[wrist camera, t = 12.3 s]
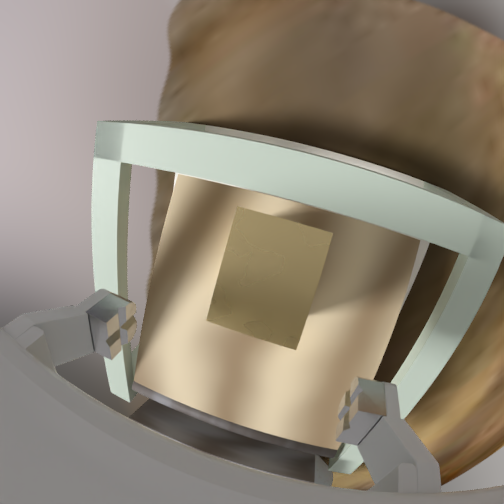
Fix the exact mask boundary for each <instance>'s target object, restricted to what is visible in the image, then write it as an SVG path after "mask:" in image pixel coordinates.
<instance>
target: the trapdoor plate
mask: <svg viewBox="0 0 504 504" xmlns="http://www.w3.org/2000/svg"><path fill="white" fill-rule="evenodd" d="M237 206H239V207H242V208H246V209H250V210H254V211H257V212H261V213H265V214H268V215H272V216H276V217H279V218H283V219H286V220H290V221H293V222H297V223H300V224H304V225H307V226H311V227H314V228H318V229H321V230H324V231H328V232H331V233H333V235H332V239H331V243H330V246H329V250H328V253H327V256H326V260H325V263H324V267H323V270H322V273H321V276H320V280H319V283H318V286H317V289H316V293H315V296H314V299H313V302H312V305H311V308H310V311H309V314H308V317H307V320H306V323H305V326H304V329H303V332H302V335H301V338H300V341H299V343H298V346H297V349H296V350H293V349H290V348H287V347H284V346H280V345H277V344H274V343H271V342H267V341H264V340H261V339H258V338H255V337H252V336H249V335H246V334H243V333H240V332H237V331H234V330H231V329H228V328H225V327H223V326H220V325H217V324H214V323H211V322H208V321H206V319H207V315H208V311H209V308H210V304H211V300H212V296H213V292H214V289H215V285H216V281H217V277H218V274H219V270H220V266H221V263H222V259H223V255H224V252H225V248H226V245H227V241H228V237H229V234H230V230H231V227H232V223H233V220H234V216H235V213H236V209H237ZM419 244H420V240H418V239H415V238H412V237H409V236H407V235H404V234H400V233H397V232H394V231H391V230H388V229H385V228H382V227H379V226H376V225H373V224H369V223H366V222H363V221H360V220H356V219H353V218H350V217H346V216H343V215H340V214H336V213H333V212H329V211H326V210H322V209H319V208H315V207H312V206H308V205H304V204H301V203H297V202H293V201H290V200H286V199H282V198H278V197H274V196H271V195H267V194H263V193H259V192H255V191H251V190H247V189H242V188H238V187H234V186H230V185H226V184H221V183H217V182H213V181H208V180H204V179H199V178H195V177H190V176H185V175H180V174H178V177H177V180H176V184H175V187H174V190H173V194H172V198H171V201H170V205H169V208H168V212H167V216H166V220H165V224H164V227H163V231H162V235H161V239H160V244H159V248H158V252H157V256H156V261H155V265H154V269H153V274H152V279H151V283H150V288H149V293H148V298H147V303H146V308H145V314H144V319H143V324H142V330H141V336H140V342H139V348H138V355H137V361H136V368H135V376H134V381H133V384H132V390H134V391H136V392H138V393H140V394H142V395H144V396H146V397H148V398H150V399H149V400H147V401H146V402H145V403H144V404H143V405H142V406H141V407H140V408H139V409H138V410H137V411H135V412H134V413H133V414H132V415H131V416H130V417H129V419H131V420H133V421H135V422H137V423H139V424H141V425H143V426H145V427H147V428H149V429H151V430H153V431H155V432H157V433H159V434H161V435H163V436H166V437H168V438H170V439H172V440H174V441H177V442H179V443H181V444H184V445H186V446H189V447H191V448H194V449H196V450H199V451H201V452H204V453H206V454H209V455H212V456H215V457H217V458H220V459H223V460H226V461H229V462H232V463H235V464H238V465H241V466H244V467H248V468H251V469H255V470H258V471H262V472H265V473H269V474H273V475H277V476H281V477H285V478H289V479H294V480H298V481H303V482H308V483H314V481H315V455H319V456H324V457H329V458H334V457H335V455H336V453H337V450H338V448H339V447H340V445H341V443H342V442H337V441H335V437H336V427H337V425H338V423H339V422H340V419H339V418H338V409H339V405H340V402H341V400H342V397H343V396H344V394H345V392H347V391H349V390H350V388H351V382H352V381H353V379H354V378H355V377H356V376H358V377H362V378H367V379H371V380H373V379H374V377H375V374H376V372H377V370H378V367H379V365H380V363H381V360H382V358H383V355H384V353H385V350H386V348H387V345H388V343H389V340H390V337H391V335H392V332H393V329H394V327H395V324H396V321H397V318H398V315H399V312H400V309H401V306H402V303H403V300H404V297H405V294H406V291H407V288H408V284H409V281H410V277H411V274H412V270H413V267H414V263H415V259H416V256H417V252H418V248H419Z"/></svg>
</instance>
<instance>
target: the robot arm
mask: <svg viewBox="0 0 504 504" xmlns="http://www.w3.org/2000/svg"><path fill="white" fill-rule="evenodd" d="M135 313H136V304H134V303H133V302H132V301H130V300H127V299H125V298H123V297H121V296H119V295H117V294H115V293H112V292H110V291H108V290H106V289H99V290H98V291H96V292H95V293H94V294H92V295H91V296H89V297H88V298H87V299H85V300H84V301H83V302H81V303H80V304H78V305H77V306H76V307H75V306H73V305H72V306H66V307H61V308H55V309H49V310H43V311H38V312H31V313H25V314H22V315H20V316H19V317H17V318H16V319H14V320H13V321H12V322H10V323H9V324H7V325H6V326H5V327H3V328H1V327H0V504H504V485H502V486H497V487H491V488H484V489H476V490H468V491H457V492H442V493H441V481H440V471H439V464H438V462H437V461H436V460H435V458H434V457H433V456H432V454H431V453H430V452H429V451H428V449H427V448H426V447H425V445H424V444H423V443H422V442H421V440H420V439H419V438H418V436H417V435H416V434H415V432H414V431H413V430H412V429H411V427H410V426H409V425H408V424H407V422H406V421H405V420H404V419H401V416H400V407H399V399H398V391H397V386H396V384H393V383H387V382H381V381H376V380H371V379H367V378H362V377H358V376H356V377H355V378H354V379H353V381H352V382H351V388H350V390H349V391H347V392H345V394H344V396H343V397H342V400H341V402H340V405H339V409H338V418H339V419H340V422H339V423H338V425H337V427H336V437H335V441H337V442H342V443H346V444H351V445H356V446H357V448H358V450H359V452H360V454H361V456H362V458H363V460H364V462H365V464H366V466H367V469H368V471H369V473H370V475H371V477H372V479H373V481H374V483H375V485H374V486H373V487H371V488H370V489H369V490H367V491H362V490H353V489H345V488H338V487H331V486H325V485H319V484H314V483H308V482H303V481H298V480H294V479H289V478H285V477H281V476H277V475H273V474H269V473H265V472H262V471H258V470H255V469H251V468H248V467H244V466H241V465H238V464H235V463H232V462H229V461H226V460H223V459H220V458H217V457H215V456H212V455H209V454H206V453H204V452H201V451H199V450H196V449H194V448H191V447H189V446H186V445H184V444H181V443H179V442H177V441H174V440H172V439H170V438H168V437H166V436H163V435H161V434H159V433H157V432H155V431H153V430H151V429H149V428H147V427H145V426H143V425H141V424H139V423H137V422H135V421H133V420H131V419H129V418H127V417H125V416H124V415H122V414H120V413H118V412H116V411H115V410H113V409H111V408H109V407H108V406H106V405H104V404H103V403H101V402H99V401H97V400H96V399H94V398H93V397H91V396H89V395H88V394H86V393H85V392H83V391H82V390H80V389H79V388H77V387H76V386H74V385H73V384H71V383H70V382H68V381H67V380H65V379H64V378H63V377H61V376H60V375H58V374H57V372H56V369H55V366H57V365H61V364H63V363H66V362H69V361H72V360H74V359H77V358H80V357H83V356H86V355H88V354H91V353H93V352H94V351H95V352H97V353H99V354H101V355H102V356H104V357H106V358H108V359H110V360H113V358H114V357H115V356H116V355H117V354H118V353H119V352H120V351H121V350H122V345H124V344H128V343H129V342H130V341H131V340H132V338H133V336H134V334H135V332H136V328H137V322H136V320H135V318H134V316H133V315H134V314H135Z"/></svg>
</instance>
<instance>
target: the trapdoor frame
mask: <svg viewBox="0 0 504 504" xmlns="http://www.w3.org/2000/svg"><path fill="white" fill-rule="evenodd" d="M132 164H135V165H141V166H145V167H151V168H156V169H161V170H166V171H171V172H176V173H175V181H174V187H175V184H176V180H177V177H178V174H180V175H185V176H190V177H195V178H199V179H204V180H208V181H213V182H217V183H221V184H226V185H230V186H234V187H238V188H242V189H247V190H251V191H255V192H259V193H263V194H267V195H271V196H274V197H278V198H282V199H286V200H290V201H293V202H297V203H301V204H304V205H308V206H312V207H315V208H319V209H322V210H326V211H329V212H333V213H336V214H340V215H343V216H346V217H350V218H353V219H356V220H360V221H363V222H366V223H369V224H373V225H376V226H379V227H382V228H385V229H388V230H391V231H394V232H397V233H400V234H404V235H407V236H409V237H412V238H415V239H418V240H420V244H419V248H418V252H417V256H416V259H415V263H414V267H413V270H412V274H411V277H410V281H409V284H408V288H407V291H406V294H405V297H404V300H403V303H402V306H401V309H402V307H403V305H404V303H405V300H406V298H407V296H408V294H409V292H410V290H411V287H412V285H413V283H414V280H415V278H416V276H417V273H418V271H419V269H420V266H421V264H422V261H423V259H424V256H425V254H426V251H427V249H428V246H429V243H433V244H436V245H439V246H442V247H444V248H447V249H450V250H453V251H455V252H458V253H459V255H458V258H457V260H456V263H455V265H454V267H453V270H452V272H451V274H450V276H449V279H448V281H447V283H446V285H445V287H444V290H443V292H442V294H441V296H440V298H439V300H438V302H437V304H436V306H435V308H434V310H433V312H432V314H431V316H430V318H429V320H428V321H427V323H426V325H425V327H424V329H423V331H422V332H421V334H420V336H419V338H418V339H417V341H416V343H415V345H414V346H413V348H412V350H411V351H410V353H409V355H408V356H407V358H406V360H405V361H404V363H403V364H402V366H401V368H400V369H399V371H398V372H397V374H396V375H395V377H394V378H393V380H392V381H391V383H393V384H396V386H397V391H398V399H399V407H400V416H401V419H404V418H405V417H406V416H407V415H408V414H409V412H410V411H411V410H412V409H413V407H414V406H415V405H416V404H417V403H418V401H419V400H420V399H421V397H422V396H423V395H424V394H425V392H426V391H427V390H428V388H429V387H430V386H431V384H432V383H433V381H434V380H435V379H436V377H437V376H438V374H439V373H440V372H441V370H442V369H443V367H444V366H445V364H446V363H447V361H448V360H449V358H450V357H451V355H452V354H453V352H454V351H455V349H456V347H457V346H458V344H459V343H460V341H461V339H462V338H463V336H464V334H465V333H466V331H467V329H468V327H469V326H470V324H471V322H472V320H473V319H474V317H475V315H476V313H477V311H478V309H479V307H480V306H481V304H482V302H483V300H484V298H485V296H486V294H487V292H488V290H489V288H490V285H491V283H492V281H493V279H494V277H495V275H496V272H497V270H498V268H499V265H500V263H501V261H502V258H503V256H504V223H503V222H502V221H500V220H499V219H497V218H495V217H494V216H492V215H490V214H489V213H487V212H485V211H483V210H482V209H480V208H478V207H476V206H475V205H473V204H471V203H469V202H468V201H466V200H464V199H462V198H460V197H458V196H456V195H454V194H453V193H451V192H449V191H447V190H445V189H442V188H440V187H437V186H435V185H432V184H430V183H427V182H425V181H422V180H419V179H417V178H414V177H411V176H408V175H405V174H403V173H400V172H397V171H394V170H391V169H388V168H385V167H382V166H379V165H376V164H373V163H370V162H366V161H363V160H360V159H357V158H353V157H350V156H346V155H343V154H339V153H336V152H332V151H328V150H325V149H321V148H317V147H313V146H309V145H305V144H301V143H297V142H293V141H288V140H284V139H279V138H275V137H270V136H265V135H260V134H255V133H250V132H245V131H239V130H234V129H228V128H222V127H216V126H209V125H202V124H195V123H188V122H171V121H98V122H97V129H96V138H95V149H94V161H93V180H92V254H93V270H94V284H95V292H96V291H98V290H99V289H106V290H108V291H110V292H112V293H115V294H117V295H119V296H121V297H123V298H125V299H127V300H128V293H127V292H128V290H127V236H128V234H127V233H128V210H129V194H130V180H131V169H132ZM173 190H174V189H173ZM401 309H400V311H401ZM399 313H400V312H399ZM138 348H139V344H138V346H137V347H136V348H135V349H134V350H133V351H132V352H131V345H130V342H129V343H128V344H124V345H122V350H121V351H120V352H119V353H118V354H117V355H116V356H115V357H114V358H113V360H110V359H108V358H106V357H104V360H105V365H106V370H107V375H108V380H109V385H110V389H111V392H112V393H113V394H115V395H117V396H119V397H121V398H123V399H124V400H126V401H128V402H131V401H132V400H133V398H134V397H135V396H136V394H137V393H138V392H136V391H134V390H132V384H133V381H134V376H135V368H136V361H137V355H138ZM363 462H364V460H363V458H362V456H361V454H360V452H359V450H358V448H357V446H356V445H351V444H346V443H341V445H340V447H339V448H338V450H337V453H336V455H335V457H334V458H330V459H329V466H328V471H334V472H340V473H346V474H351V473H352V472H353V471H354V470H355V469H356V468H358V467H359V466H360V465H361V464H362V463H363Z"/></svg>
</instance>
